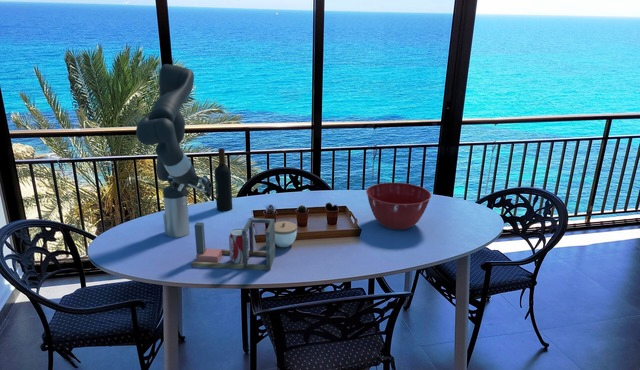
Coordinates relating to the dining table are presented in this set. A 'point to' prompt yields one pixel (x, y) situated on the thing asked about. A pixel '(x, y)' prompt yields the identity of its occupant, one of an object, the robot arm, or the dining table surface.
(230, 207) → the wine bottle
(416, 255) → the dining table surface
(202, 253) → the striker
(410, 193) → the mixing bowl
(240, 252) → the soda can
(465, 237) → the dining table surface
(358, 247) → the dining table surface
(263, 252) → the grey bar frame
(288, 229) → the lidded jar
